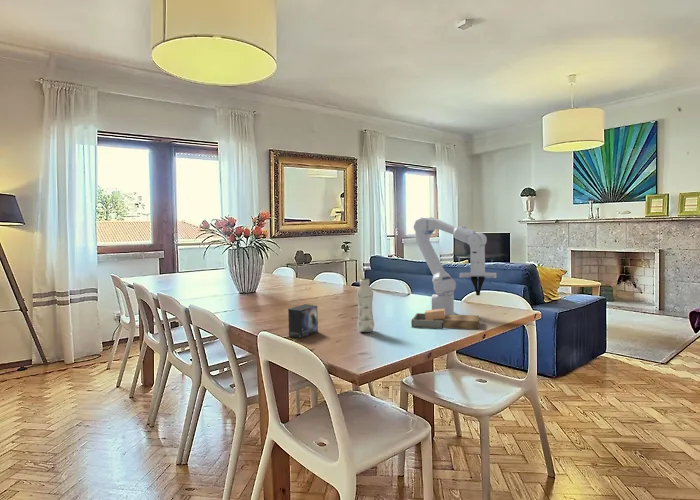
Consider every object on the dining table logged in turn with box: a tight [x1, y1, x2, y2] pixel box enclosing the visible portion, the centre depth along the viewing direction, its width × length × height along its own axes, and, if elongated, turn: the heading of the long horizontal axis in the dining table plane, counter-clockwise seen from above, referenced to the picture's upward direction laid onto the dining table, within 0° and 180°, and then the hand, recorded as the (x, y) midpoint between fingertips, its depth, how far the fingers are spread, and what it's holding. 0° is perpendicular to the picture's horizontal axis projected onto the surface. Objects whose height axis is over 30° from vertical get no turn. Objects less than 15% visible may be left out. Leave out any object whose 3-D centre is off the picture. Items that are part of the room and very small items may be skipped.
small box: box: [287, 303, 319, 339], centre depth 164 cm, size 11×6×10 cm, turn 148°
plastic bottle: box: [356, 278, 375, 333], centre depth 164 cm, size 6×7×20 cm
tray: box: [411, 312, 444, 329], centre depth 174 cm, size 12×13×3 cm
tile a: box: [432, 309, 446, 319], centre depth 173 cm, size 4×4×3 cm
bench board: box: [442, 314, 480, 330], centre depth 170 cm, size 13×10×3 cm
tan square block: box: [424, 309, 435, 321], centre depth 174 cm, size 4×4×3 cm
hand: (478, 295), depth 180 cm, fingers closed
